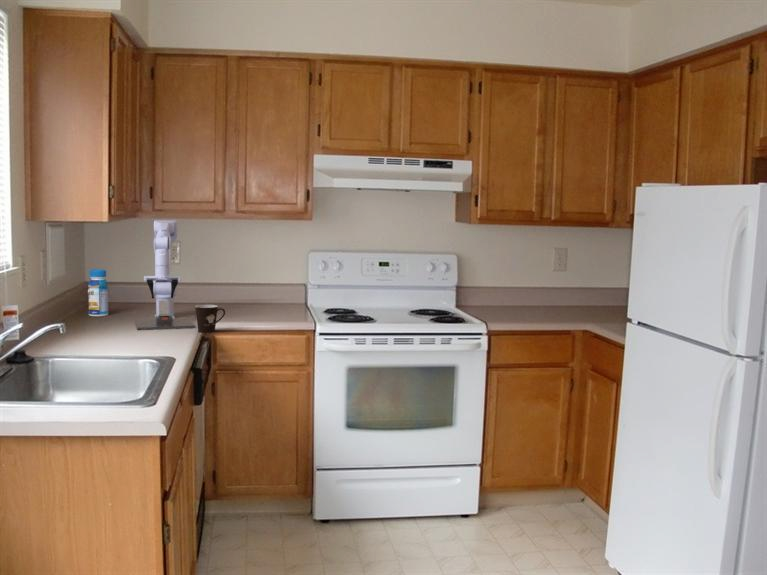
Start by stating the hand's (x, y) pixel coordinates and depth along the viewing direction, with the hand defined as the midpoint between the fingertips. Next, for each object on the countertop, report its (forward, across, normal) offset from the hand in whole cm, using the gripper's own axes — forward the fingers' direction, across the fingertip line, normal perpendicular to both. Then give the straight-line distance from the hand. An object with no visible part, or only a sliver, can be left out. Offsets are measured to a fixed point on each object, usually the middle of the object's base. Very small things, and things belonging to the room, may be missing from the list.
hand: (162, 298), depth 310 cm
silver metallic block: (+7, 0, -5) cm, 8 cm away
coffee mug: (+11, +16, -25) cm, 32 cm away
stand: (+10, 0, -5) cm, 12 cm away
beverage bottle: (+10, -25, +28) cm, 39 cm away
